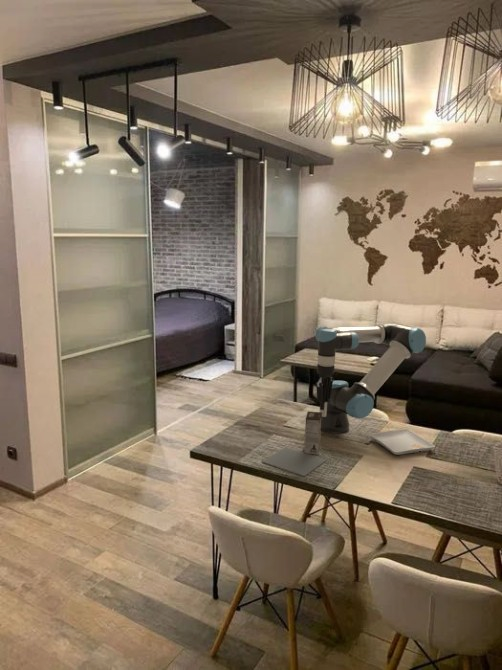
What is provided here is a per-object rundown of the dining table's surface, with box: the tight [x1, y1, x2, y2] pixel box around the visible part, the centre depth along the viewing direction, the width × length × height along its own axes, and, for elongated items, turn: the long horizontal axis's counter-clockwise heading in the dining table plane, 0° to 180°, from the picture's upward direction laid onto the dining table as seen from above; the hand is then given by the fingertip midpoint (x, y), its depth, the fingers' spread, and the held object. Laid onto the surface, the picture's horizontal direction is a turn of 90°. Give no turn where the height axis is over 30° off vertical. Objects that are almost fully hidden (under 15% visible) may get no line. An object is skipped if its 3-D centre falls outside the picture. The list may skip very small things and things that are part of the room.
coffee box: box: [303, 411, 322, 455], centre depth 217 cm, size 9×6×16 cm
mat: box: [261, 446, 327, 478], centre depth 207 cm, size 18×20×1 cm
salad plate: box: [368, 428, 436, 456], centre depth 225 cm, size 21×21×3 cm
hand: (322, 415), depth 223 cm, fingers closed
